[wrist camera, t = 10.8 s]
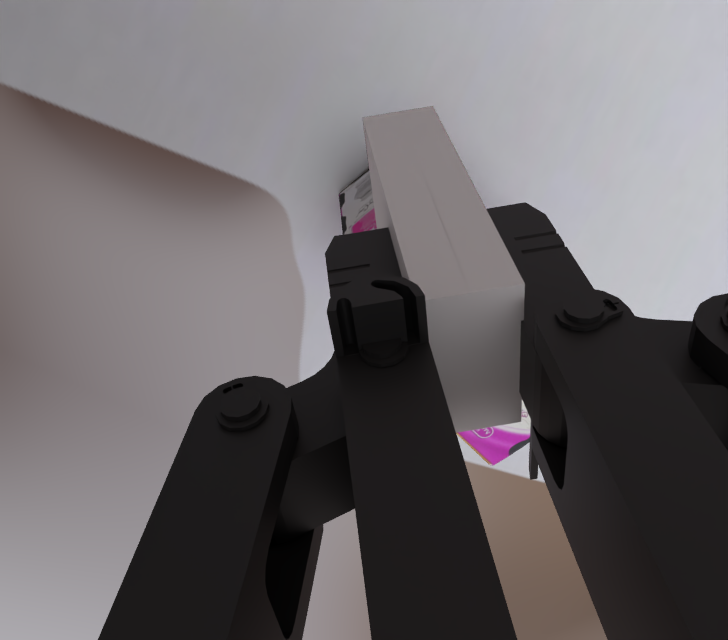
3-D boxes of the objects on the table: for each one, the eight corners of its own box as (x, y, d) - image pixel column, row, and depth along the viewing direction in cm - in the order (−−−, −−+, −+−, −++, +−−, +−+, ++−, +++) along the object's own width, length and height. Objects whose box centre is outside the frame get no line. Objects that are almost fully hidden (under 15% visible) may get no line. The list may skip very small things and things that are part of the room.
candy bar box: (333, 195, 44) (343, 336, 30) (394, 144, 42) (435, 266, 28) (439, 308, 49) (491, 473, 35) (497, 264, 47) (576, 419, 33)
